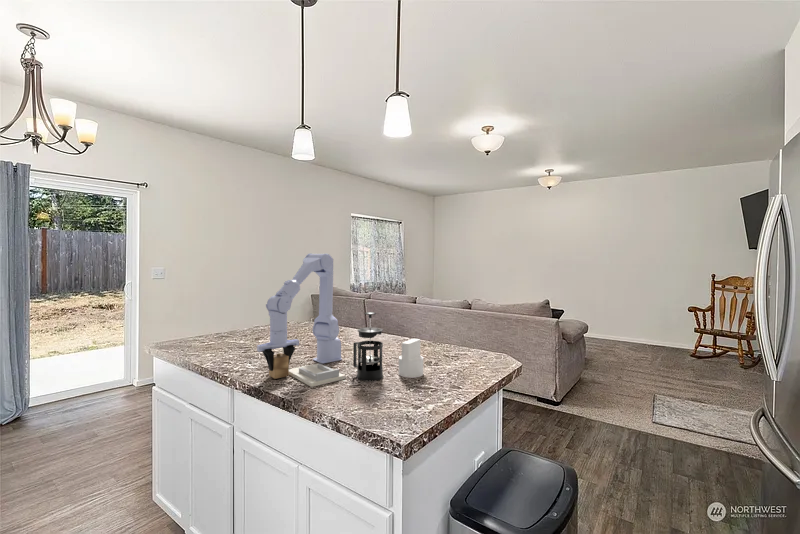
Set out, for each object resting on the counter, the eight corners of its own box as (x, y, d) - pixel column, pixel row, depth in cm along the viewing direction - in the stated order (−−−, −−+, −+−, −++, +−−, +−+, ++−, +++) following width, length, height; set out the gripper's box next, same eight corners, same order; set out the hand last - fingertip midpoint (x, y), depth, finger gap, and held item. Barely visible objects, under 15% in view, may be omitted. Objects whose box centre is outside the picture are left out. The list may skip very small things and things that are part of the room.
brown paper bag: (282, 372, 134) (282, 351, 134) (288, 375, 130) (288, 353, 130) (268, 375, 131) (268, 353, 131) (274, 378, 127) (274, 356, 127)
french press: (389, 375, 134) (389, 311, 133) (377, 383, 125) (377, 315, 124) (361, 370, 138) (361, 309, 138) (347, 378, 130) (347, 312, 129)
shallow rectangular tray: (318, 366, 144) (318, 357, 144) (345, 378, 129) (345, 368, 129) (286, 373, 135) (286, 363, 135) (311, 387, 121) (311, 376, 121)
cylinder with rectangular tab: (415, 379, 130) (415, 345, 129) (393, 374, 134) (394, 341, 134) (427, 372, 137) (427, 340, 137) (406, 368, 142) (406, 337, 142)
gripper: (292, 325, 138) (293, 362, 138) (253, 330, 128) (253, 369, 129) (301, 328, 133) (301, 366, 133) (261, 334, 123) (261, 374, 123)
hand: (278, 368), depth 131 cm, fingers closed on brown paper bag, 5 cm apart
